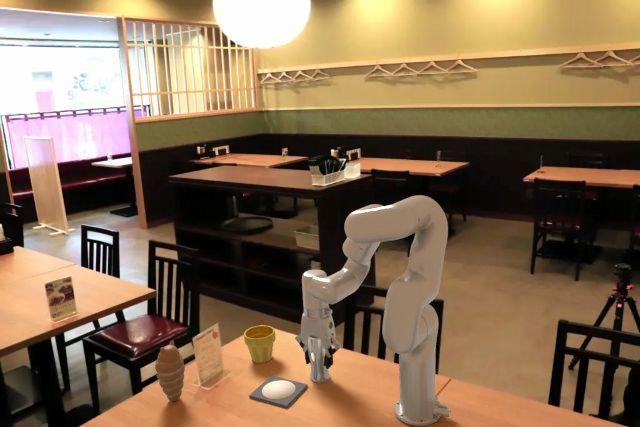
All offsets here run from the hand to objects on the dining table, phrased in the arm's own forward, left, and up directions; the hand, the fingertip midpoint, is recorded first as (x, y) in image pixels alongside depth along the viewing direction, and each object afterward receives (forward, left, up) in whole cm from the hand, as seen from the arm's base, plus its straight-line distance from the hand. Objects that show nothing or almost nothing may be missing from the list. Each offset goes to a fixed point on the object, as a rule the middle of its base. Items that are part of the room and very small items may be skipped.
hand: (319, 364), depth 163 cm
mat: (+7, +12, -5) cm, 15 cm away
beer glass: (0, 0, -5) cm, 5 cm away
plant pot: (+24, -3, -5) cm, 25 cm away
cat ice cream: (+34, +28, -5) cm, 44 cm away
